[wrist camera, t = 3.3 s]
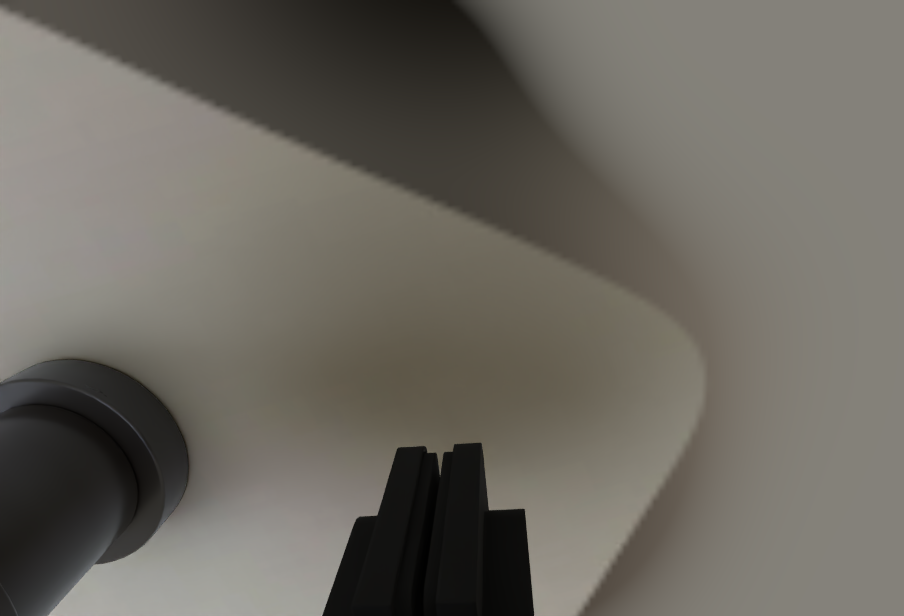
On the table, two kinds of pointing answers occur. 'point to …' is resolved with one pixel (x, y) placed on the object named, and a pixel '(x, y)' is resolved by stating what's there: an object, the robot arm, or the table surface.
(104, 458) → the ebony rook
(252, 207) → the table surface
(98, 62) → the table surface
